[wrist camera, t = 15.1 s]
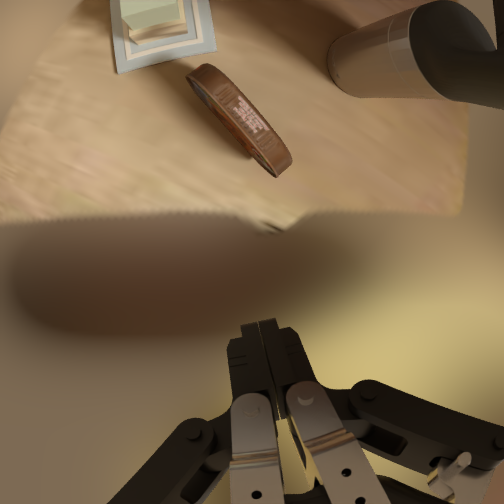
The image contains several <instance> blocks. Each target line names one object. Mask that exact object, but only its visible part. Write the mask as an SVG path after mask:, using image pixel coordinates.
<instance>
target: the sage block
mask: <svg viewBox="0 0 504 504" xmlns="http://www.w3.org/2000/svg"><path fill="white" fill-rule="evenodd" d="M120 7H121V17H122V19H123V20H124V21H125V22H126V23H127V24H128V25H129V26H130V27H131V29H132V30H133V31H135V30H138V29H142V28H146V27H149V26H153V25H157V24H161V23H165V22H169V21H174V20H178V19H180V12H179V6H178V0H120Z"/></svg>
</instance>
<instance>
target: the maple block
mask: <svg viewBox="0 0 504 504" xmlns="http://www.w3.org/2000/svg"><path fill="white" fill-rule="evenodd" d="M178 6H179V12H180V19H178V20H174V21H169V22H165V23H161V24H157V25H153V26H149V27H146V28H142V29H138V30H135V31H133V30H132V29H131V27H130V26H129V25H128V28H129V37H130V38H131V39H133V40H134V41H135V42H136V43H137V44H138V45H141V44H145V43H148V42H152V41H156V40H160V39H164V38H169V37H173V36H178V35H182V34H187V33H188V29H187V23H186V16H185V9H184V2H183V0H178Z"/></svg>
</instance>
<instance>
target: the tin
mask: <svg viewBox="0 0 504 504" xmlns="http://www.w3.org/2000/svg"><path fill="white" fill-rule="evenodd" d="M186 80H187V81H188V83H189V84H190V86H191V87H192V89H193V90H194V91H195V93H196V94H197V95H198V96H199V97H200V99H201V100H202V101H203V102H204V103H205V104H206V105H207V106H208V107H209V109H210V110H211V111H212V112H213V113H214V114H215V115H216V116H217V117H218V118H219V120H220V121H221V122H222V123H223V124H224V125H225V126H226V127H227V128H228V130H229V131H230V132H231V133H232V134H233V135H234V136H235V138H236V139H237V140H238V141H239V142H240V143H241V145H242V146H243V147H244V148H245V149H246V150H247V151H248V152H249V154H250V155H251V156H252V157H253V158H254V159H255V160H256V161H257V162H258V163H259V164H260V165H261V166H262V167H263V168H264V169H265V170H266V171H267V172H268V173H270V174H271V175H272V176H273V177H275V178H277V177H278V176H279V175H280V174H281V173H282V172H283V171H284V170H286V169H287V168H288V167H289V166H290V165H291V164H292V157H291V154H290V152H289V150H288V149H287V147H286V146H285V144H284V143H283V141H282V140H281V138H280V137H279V136H278V135H277V133H276V132H275V131H274V130H273V128H272V127H271V126H270V125H269V123H268V122H267V121H266V120H265V119H264V117H263V116H262V115H261V114H260V112H259V111H258V110H257V109H256V108H255V107H254V105H253V104H252V103H251V102H250V101H249V100H248V99H247V98H246V96H245V95H244V94H243V93H242V92H241V91H240V90H239V89H238V88H237V86H236V85H235V84H234V83H233V82H232V81H231V80H230V79H229V78H228V77H227V76H226V75H225V74H224V73H222V72H221V71H220V70H219V69H217V68H216V67H214V66H213V65H211V64H208V63H206V64H202V65H201V66H199V67H198V68H197V69H195V70H194V71H193V72H192V73H190V74H189V75H186Z"/></svg>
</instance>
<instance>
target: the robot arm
mask: <svg viewBox="0 0 504 504" xmlns="http://www.w3.org/2000/svg"><path fill="white" fill-rule="evenodd" d="M493 8H494V16H495V24H496V37H497V50H496V48H495V46H494V43H493V41H492V39H491V37H490V35H489V34H488V32H487V30H486V29H485V28H484V26H483V24H482V23H481V22H480V21H479V19H478V18H477V17H476V16H475V15H474V14H473V13H472V12H471V11H469V10H468V9H467V8H465V7H464V6H462V5H460V4H458V3H456V2H453V1H448V0H439V1H434V2H430V3H427V4H424V5H420V6H417V7H414V8H411V9H408V10H406V11H403V12H400V13H398V14H395V15H392V16H389V17H387V18H384V19H382V20H379V21H377V22H374V23H372V24H369V25H367V26H365V27H362V28H360V29H358V30H355V31H353V32H351V33H349V34H347V35H344V36H342V37H340V38H338V39H337V40H336V41H334V43H333V44H332V45H331V47H330V49H329V51H328V56H327V65H328V69H329V73H330V75H331V77H332V79H333V80H334V82H335V83H336V84H337V86H338V87H339V88H341V89H342V90H343V91H344V92H346V93H347V94H349V95H352V96H354V97H358V98H416V99H437V100H449V101H459V102H468V103H473V104H478V105H483V106H487V107H493V108H497V109H502V110H504V0H493ZM258 322H259V327H258V324H257V322H253V323H248V324H243V325H241V332H242V337H240V338H235V339H231V340H230V342H229V344H228V347H227V357H228V365H229V373H230V380H231V388H232V395H233V400H232V404H231V406H230V408H229V409H228V410H227V412H225V413H224V414H222V415H221V416H219V417H217V418H214V419H212V420H210V421H206V420H204V419H201V418H191V419H187V420H185V421H183V422H182V423H180V424H179V425H178V426H177V428H176V429H175V430H174V431H173V433H171V435H170V436H169V437H168V438H167V439H166V440H165V441H164V443H163V444H162V445H161V446H160V447H159V448H158V449H157V451H156V452H155V453H154V454H153V455H152V456H151V457H150V458H149V460H148V461H147V462H146V463H145V464H144V465H143V466H142V467H141V468H140V469H139V470H138V472H137V473H136V474H135V475H134V476H133V477H132V478H131V479H130V480H129V481H128V482H127V484H125V485H124V487H123V488H122V489H121V490H120V491H119V492H118V493H117V494H116V495H115V496H114V497H113V498H112V499H111V500H110V501H109V502H108V503H107V504H202V503H203V502H204V501H205V499H206V498H207V497H208V496H209V494H210V493H211V492H212V490H213V489H214V488H215V486H216V485H217V484H218V482H219V481H220V480H221V478H222V477H223V476H224V474H225V473H226V471H227V470H228V469H229V467H230V490H231V504H481V502H482V500H483V498H484V496H485V493H486V491H487V488H488V486H489V483H490V480H491V478H492V475H493V472H494V470H495V468H496V466H497V465H499V464H500V463H501V462H502V461H504V427H503V426H500V425H496V424H493V423H490V422H487V421H484V420H481V419H477V418H475V417H471V416H468V415H465V414H463V413H460V412H457V411H453V410H451V409H448V408H445V407H443V406H440V405H437V404H434V403H431V402H429V401H426V400H424V399H421V398H418V397H416V396H413V395H410V394H408V393H405V392H403V391H400V390H398V389H395V388H393V387H390V386H388V385H385V384H383V383H380V382H378V381H375V380H362V381H360V382H358V383H356V384H355V385H354V386H353V387H352V388H351V389H341V390H336V389H329V388H326V387H324V386H323V385H321V384H320V383H319V382H318V381H317V379H316V377H315V375H314V373H313V370H312V367H311V365H310V362H309V360H308V358H307V355H306V352H305V350H304V348H303V345H302V343H301V340H300V338H299V335H298V333H297V332H295V331H294V330H293V329H292V328H291V327H287V328H282V329H279V327H278V324H277V322H276V319H275V318H272V319H267V320H262V321H258ZM259 328H260V331H259ZM260 334H261V335H260ZM277 406H278V408H277ZM278 409H279V413H280V417H281V419H285V418H287V421H288V425H289V429H290V435H291V438H292V441H293V443H294V445H295V448H296V451H297V453H298V456H299V459H300V461H301V463H302V466H303V469H304V472H305V475H306V479H307V482H308V485H309V488H310V491H308V492H306V493H303V494H286V491H285V486H284V480H283V473H282V467H281V460H280V454H279V447H278V441H277V437H278V431H277V426H276V421H277V420H279V414H278ZM362 448H363V449H366V450H367V451H370V452H372V453H374V454H376V455H378V456H381V457H383V458H385V459H388V460H390V461H392V462H394V463H397V464H399V465H402V466H404V467H407V468H409V469H412V470H414V471H417V472H419V473H422V474H425V475H427V476H428V477H427V483H428V486H429V488H430V489H431V490H432V491H433V492H435V493H437V494H439V496H440V497H441V498H442V499H439V498H437V497H434V496H432V495H429V494H427V493H424V492H422V491H419V490H417V489H415V488H412V487H410V486H408V485H406V484H403V483H401V482H399V481H397V480H395V479H392V478H390V477H386V476H382V475H376V474H375V473H374V471H373V469H372V467H371V465H370V463H369V462H368V460H367V458H366V456H365V454H364V452H363V450H362Z"/></svg>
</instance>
